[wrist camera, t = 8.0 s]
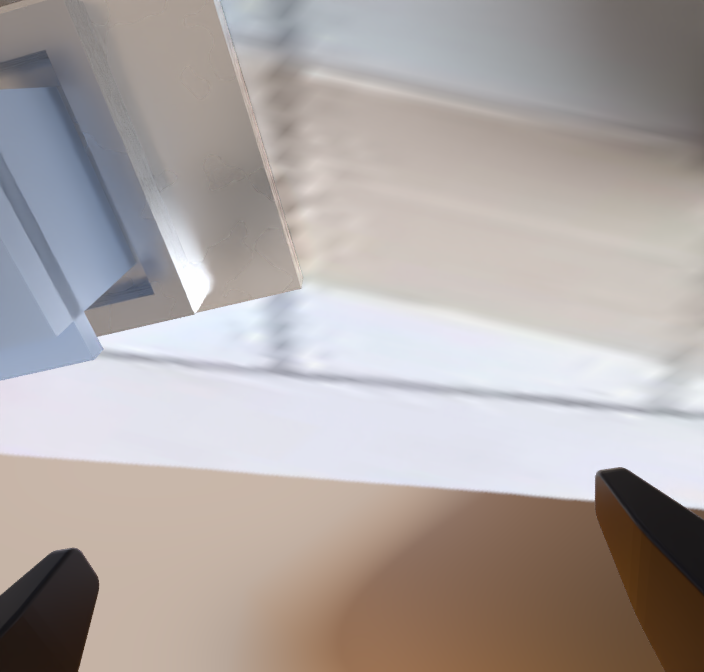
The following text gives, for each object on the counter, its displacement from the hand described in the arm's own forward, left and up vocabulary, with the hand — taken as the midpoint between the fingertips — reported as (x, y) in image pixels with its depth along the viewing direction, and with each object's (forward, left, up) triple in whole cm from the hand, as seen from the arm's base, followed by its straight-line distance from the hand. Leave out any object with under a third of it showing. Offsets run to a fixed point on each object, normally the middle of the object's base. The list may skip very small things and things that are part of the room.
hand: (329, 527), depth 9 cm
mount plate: (+7, -5, -12) cm, 15 cm away
